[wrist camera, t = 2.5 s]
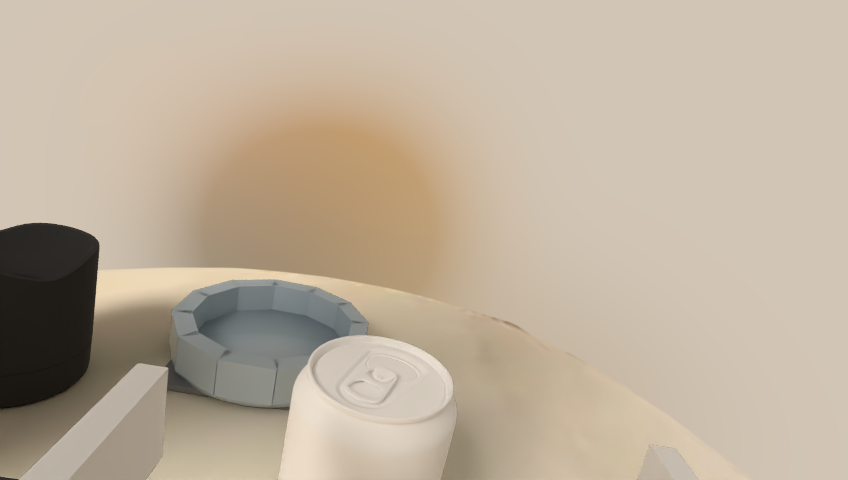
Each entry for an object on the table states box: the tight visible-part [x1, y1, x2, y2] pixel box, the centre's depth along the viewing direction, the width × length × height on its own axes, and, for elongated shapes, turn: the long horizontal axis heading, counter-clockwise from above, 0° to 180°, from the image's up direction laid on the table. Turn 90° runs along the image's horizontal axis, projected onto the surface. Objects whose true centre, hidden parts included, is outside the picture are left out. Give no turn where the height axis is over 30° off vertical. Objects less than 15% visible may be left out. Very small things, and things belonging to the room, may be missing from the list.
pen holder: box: [0, 223, 99, 408], centre depth 35 cm, size 9×9×10 cm
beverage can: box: [278, 335, 457, 480], centre depth 26 cm, size 8×8×12 cm
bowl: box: [169, 280, 369, 408], centre depth 45 cm, size 16×16×3 cm
